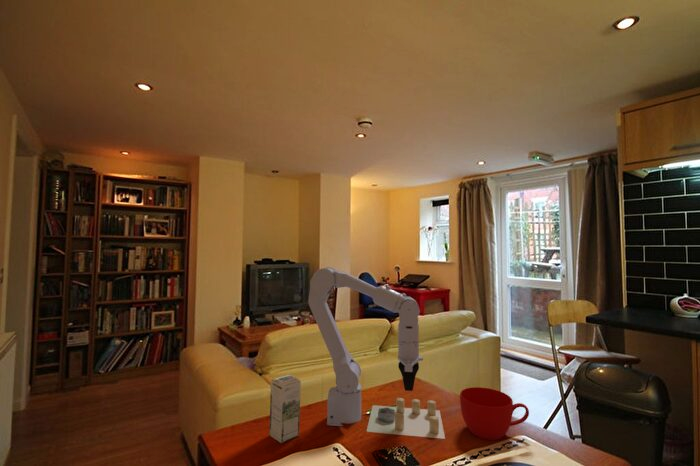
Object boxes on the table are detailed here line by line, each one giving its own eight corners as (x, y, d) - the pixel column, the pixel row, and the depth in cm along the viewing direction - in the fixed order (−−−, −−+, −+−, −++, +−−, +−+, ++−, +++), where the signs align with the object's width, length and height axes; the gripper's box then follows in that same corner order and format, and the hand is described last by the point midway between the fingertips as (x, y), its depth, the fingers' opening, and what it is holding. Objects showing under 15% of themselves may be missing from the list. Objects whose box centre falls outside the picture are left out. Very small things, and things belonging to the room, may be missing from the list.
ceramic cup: (537, 454, 82) (536, 411, 82) (463, 446, 85) (463, 404, 86) (522, 427, 94) (521, 390, 95) (458, 421, 98) (457, 385, 98)
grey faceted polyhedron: (381, 423, 94) (381, 416, 94) (374, 416, 98) (374, 409, 98) (398, 420, 96) (398, 413, 96) (391, 413, 100) (391, 406, 100)
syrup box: (287, 428, 94) (288, 373, 95) (300, 436, 89) (301, 379, 90) (268, 435, 90) (269, 378, 91) (281, 444, 85) (282, 384, 86)
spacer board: (366, 435, 90) (366, 417, 90) (372, 408, 106) (372, 393, 106) (445, 442, 87) (445, 424, 87) (439, 413, 102) (439, 398, 103)
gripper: (424, 348, 90) (424, 401, 89) (422, 335, 104) (422, 381, 103) (396, 346, 91) (396, 399, 90) (398, 334, 105) (398, 379, 104)
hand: (408, 389), depth 97 cm, fingers closed
